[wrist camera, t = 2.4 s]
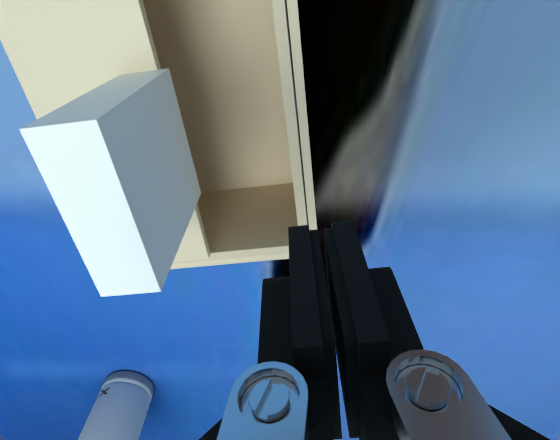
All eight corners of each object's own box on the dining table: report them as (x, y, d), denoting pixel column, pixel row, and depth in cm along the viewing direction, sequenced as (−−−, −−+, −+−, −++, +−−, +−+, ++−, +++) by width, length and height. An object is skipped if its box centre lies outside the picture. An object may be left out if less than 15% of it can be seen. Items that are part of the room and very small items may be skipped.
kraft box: (287, -77, 25) (287, -110, 16) (311, 191, 35) (319, 258, 26) (69, -43, 26) (-38, -57, 17) (154, 207, 36) (112, 277, 27)
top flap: (142, -49, 17) (22, -76, 9) (219, 252, 26) (190, 369, 18) (-20, -24, 18) (-260, -30, 10) (108, 262, 26) (33, 379, 18)
